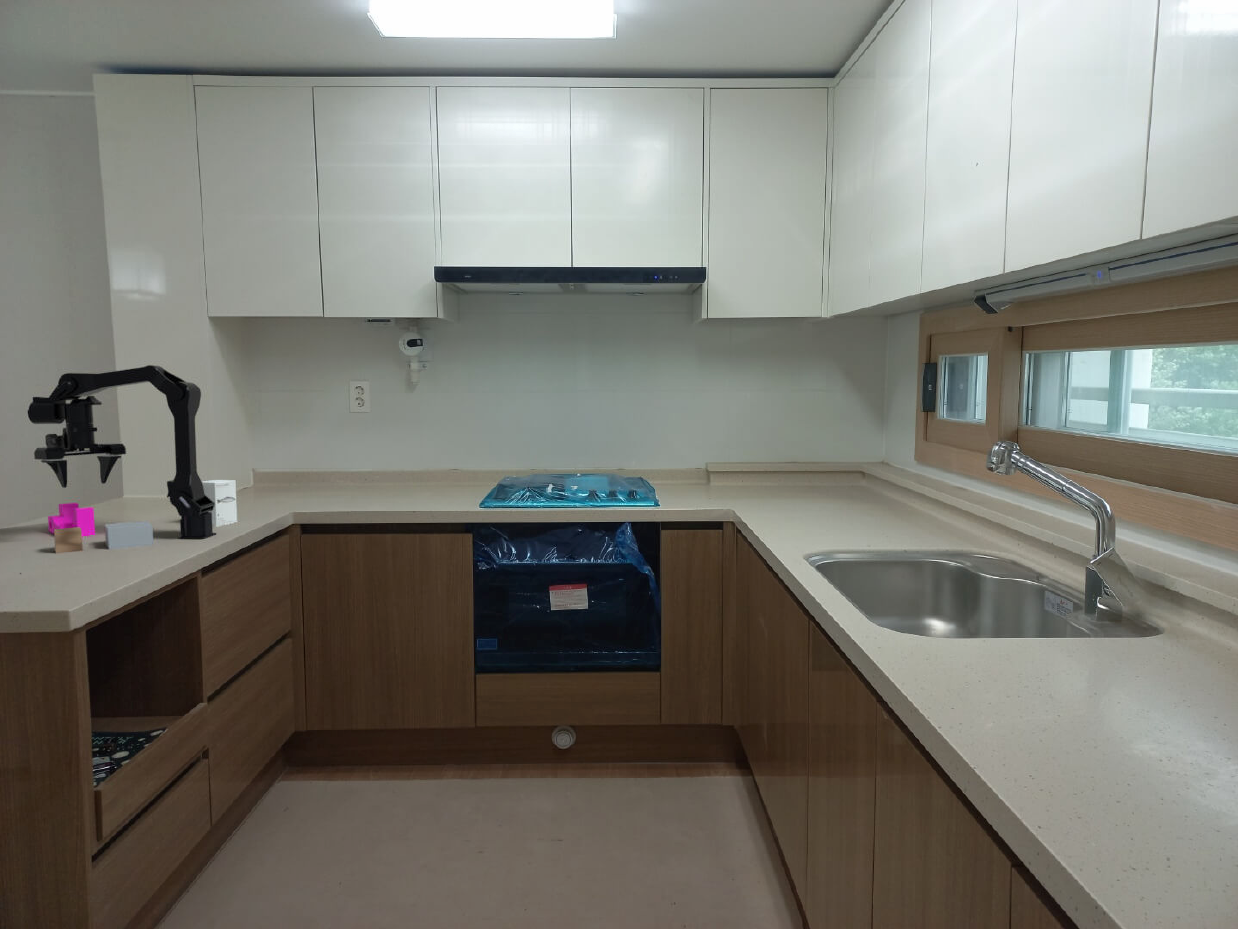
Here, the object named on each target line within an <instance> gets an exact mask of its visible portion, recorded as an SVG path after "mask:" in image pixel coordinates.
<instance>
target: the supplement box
mask: <svg viewBox="0 0 1238 929" xmlns="http://www.w3.org/2000/svg"><path fill="white" fill-rule="evenodd" d="M201 481H202V484H203V489H204V494H205V495H206V496H207V497H208V498H209V499H211V500H212V501H213V502H214V503H215V505H214V508H213V511H209V512H212V528H213V527H214V528H218V527H223V526H226V525H231V524H235V523H234V522H236V523H238V510H237V509H238V508H237V485H236V483H237V482H236V480H233V479H232V480H231V479H212V480H201ZM230 523H231V524H230Z"/></svg>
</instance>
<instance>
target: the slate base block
mask: <svg viewBox="0 0 1238 929" xmlns="http://www.w3.org/2000/svg"><path fill="white" fill-rule="evenodd" d="M153 530H154V529H153V524H151V523H150V522H149V521H148V520H142V521H130V522H128V521H127V522H118V523H106V524H104V534H105V535H104V536H105V538H104V539H105V545H106V547H107V548H108V550H114V549H115V550H117V549H125V548H137V547H143V546H144V547H145V546H146V547H147V546H153V545H154V532H153Z"/></svg>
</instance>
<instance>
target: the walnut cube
mask: <svg viewBox="0 0 1238 929" xmlns="http://www.w3.org/2000/svg"><path fill="white" fill-rule="evenodd" d="M53 535H54V549H55V553H56V554H63V553H72V552H73V553H74V552H75V553H76V552H82V551H84V549H83V548H84V547H83V537H82V532H81V528H80V527H76V528H64V529H54V534H53Z"/></svg>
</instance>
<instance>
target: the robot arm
mask: <svg viewBox="0 0 1238 929" xmlns="http://www.w3.org/2000/svg"><path fill="white" fill-rule="evenodd" d="M145 383H150V384H151V385H153V387H154V388H155V389H157V390H158V391H159V392H160V393H162V394H163V395H165V397H166V403H167V406H168V410H170V413H171V414H172V417H173V424H174V425H173V427H174V431H173V432H174V452H175V454H174V455H175V475H174V478H173V479H171V480H167V481H166V486H167V487H166V488H167V495H166V498H169V502H170V504H171V506H173V507H175V509H176V510H177V513H178V515H179V516H180V518H181V519H180V520H179V526H180V536H177V538H178V540H180V539H181V540H183V539H184V540H185V539H186V540H191V539H192V540H203V539H206V538H209V537H213V536H216V535H217V532H213V530H214V529H213V527H212V512H209V511H213V508H214V505H215V503H214V502H213V501H212V500H211V499H209V498H208V497H207V496H206V495H205V494H204V489H203V484H202V481H203V480H202V479H201V478H200V475H199V474H198V468H197V465H198V464H197V441H196V438H197V437H196V436H197V435H196V416H197V413H198V410H199V408H200V404H201V397H202V392H201V388H200V387H199V386H197V384H195V383H194V382H191V381H190V382H189V381H185V380H184V379H182V378H180V377H179V376H177V375H175V374H173V373H171V372H169V371H168V370H167V369H164V367H162V366H161V365H151V364H150V365H149V364H148V365H146V366H141V367H135V368H127V369H121V370H114V371H109V372H103V373H102V372H99V373H86V372H85V373H84V372H83V373H82V372H80V373H79V372H78V373H77V372H67V373H63V374H62V375H60V377H59V379H58V382H57V385H56V387H55V388H54V389H53V391H52V392H51V394H50V395H49V396H48V397H45V396H33V397H32V402H31V403H30V404H29V406H28V409H27V417H28V419H29V421H30V422H31V423H32V424H34V425H61V424H63V423H64V422H65V427H63V428H62V433H61V434H62V435H58V434H57V433H47V434H46V435H44V436H45V437H44V438H45V439H44V440H45V446H46V447H37V448H36V449H35V450H34V453H33V454H34V460H40V462H41V463H43V464H44V463H46V465H47V466H49V467H50V468H51V469H52V470H53V472H54V474H55V476H56V478H57V480H58V481H59V483H60V485H61V487H62V488H63V489H65V488H67V486H68V460H67V459H64V457H71V456H72V457H73V456H84V455H97V456H96V458H97V460H98V462H99V474H100V483H101V484H103V485H104V484H106V483H107V481H108V479H109V476H110V474H111V472H112V470H113V468H114V466H115V464H116V463H117V461H118V459H122V455H127V448H126V446H125V445H124V443H115V442H113V443H112V442H111V443H96V439H95V437H96V436H95V432H98V427H95V425H94V412H93V410H94V409H93V406H101V405H102V404H103V403H102V402H101V401H100V400H98V399H97V398H96V397H95V396H94V394H98V393H100V392H102V391H105V390H108V389H112V388H119V387H124V386H131V385H137V384H145ZM82 397H86V398H82ZM67 401H70V402H67ZM99 454H100V455H99Z"/></svg>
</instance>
